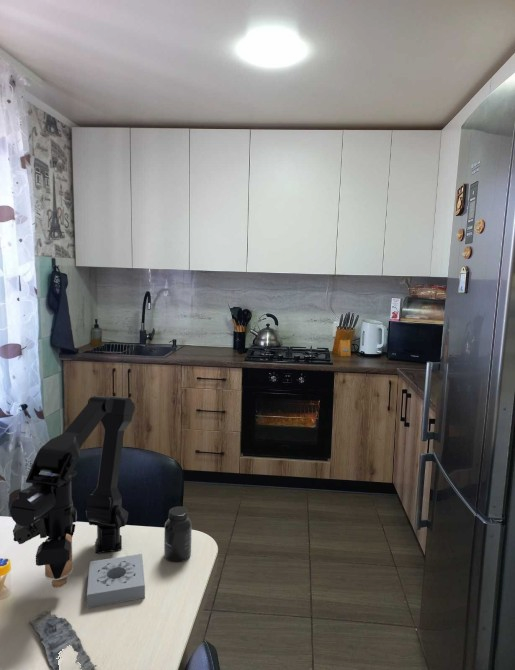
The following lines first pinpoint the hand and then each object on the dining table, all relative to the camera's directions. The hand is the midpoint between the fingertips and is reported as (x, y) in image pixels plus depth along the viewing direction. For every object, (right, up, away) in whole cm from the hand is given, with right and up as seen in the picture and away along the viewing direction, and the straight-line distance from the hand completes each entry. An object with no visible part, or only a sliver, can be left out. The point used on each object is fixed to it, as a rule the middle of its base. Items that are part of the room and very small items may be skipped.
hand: (59, 569), depth 99 cm
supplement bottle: (+23, -5, +16) cm, 29 cm away
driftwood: (+6, -8, -13) cm, 16 cm away
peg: (0, -3, 0) cm, 3 cm away
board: (+11, -6, +4) cm, 13 cm away
